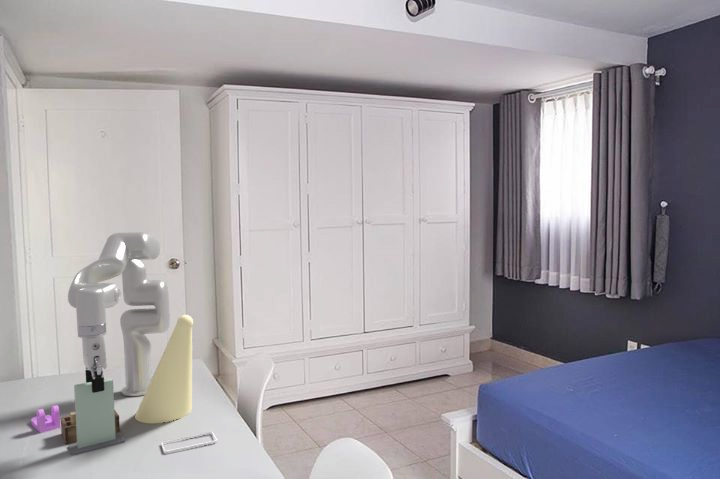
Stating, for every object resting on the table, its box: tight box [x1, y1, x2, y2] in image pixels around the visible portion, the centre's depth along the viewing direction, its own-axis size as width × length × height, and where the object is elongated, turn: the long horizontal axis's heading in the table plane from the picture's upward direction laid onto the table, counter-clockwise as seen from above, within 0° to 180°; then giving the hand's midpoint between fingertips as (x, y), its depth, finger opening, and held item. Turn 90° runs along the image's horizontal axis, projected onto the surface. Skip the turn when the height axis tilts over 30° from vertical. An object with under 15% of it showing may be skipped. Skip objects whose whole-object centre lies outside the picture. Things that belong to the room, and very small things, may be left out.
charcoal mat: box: [68, 431, 126, 456], centre depth 160 cm, size 14×7×1 cm, turn 126°
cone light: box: [134, 314, 194, 424], centre depth 181 cm, size 25×18×35 cm
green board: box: [73, 377, 116, 448], centre depth 159 cm, size 10×2×18 cm, turn 126°
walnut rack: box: [60, 408, 121, 445], centre depth 168 cm, size 15×9×5 cm, turn 126°
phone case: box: [160, 431, 218, 455], centre depth 159 cm, size 7×1×15 cm
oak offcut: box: [69, 411, 76, 425], centre depth 165 cm, size 5×2×8 cm, turn 126°
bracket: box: [30, 404, 61, 434], centre depth 175 cm, size 13×6×7 cm, turn 45°
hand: (95, 386), depth 160 cm, fingers open, 9 cm apart
